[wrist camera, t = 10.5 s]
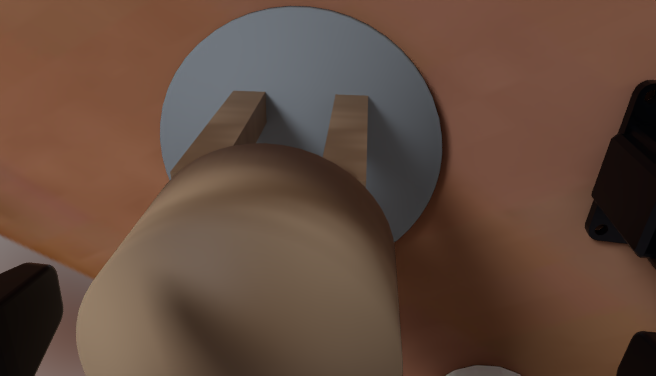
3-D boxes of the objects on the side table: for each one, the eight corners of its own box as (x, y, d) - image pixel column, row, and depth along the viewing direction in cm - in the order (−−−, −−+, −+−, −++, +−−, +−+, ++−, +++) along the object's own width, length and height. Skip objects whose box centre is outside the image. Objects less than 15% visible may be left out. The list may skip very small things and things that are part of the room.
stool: (394, 72, 19) (417, 238, 9) (382, 233, 22) (390, 485, 12) (207, 65, 19) (42, 219, 10) (221, 225, 23) (107, 462, 13)
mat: (467, 22, 19) (469, 25, 18) (415, 277, 24) (416, 284, 23) (155, -10, 19) (150, -8, 18) (171, 248, 24) (167, 255, 24)
